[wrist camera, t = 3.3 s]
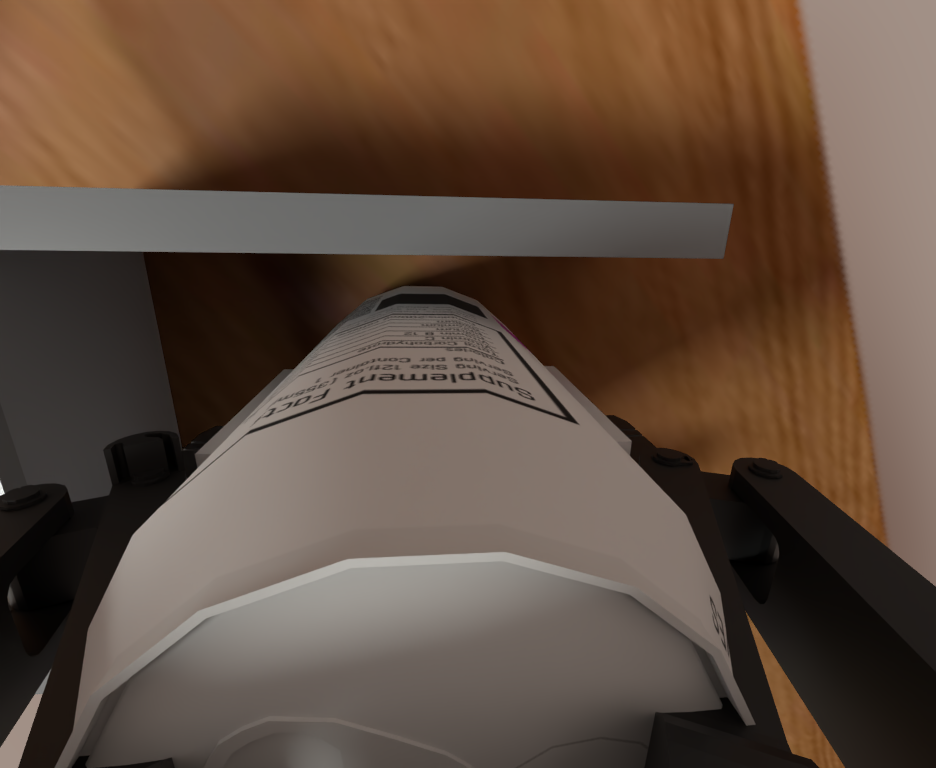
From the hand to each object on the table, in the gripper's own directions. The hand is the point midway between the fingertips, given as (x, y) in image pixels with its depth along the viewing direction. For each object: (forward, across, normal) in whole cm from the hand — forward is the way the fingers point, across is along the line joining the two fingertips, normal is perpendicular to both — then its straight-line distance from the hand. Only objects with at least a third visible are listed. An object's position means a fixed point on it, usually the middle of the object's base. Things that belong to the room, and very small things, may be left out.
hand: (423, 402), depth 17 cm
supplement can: (+2, 0, 0) cm, 2 cm away
